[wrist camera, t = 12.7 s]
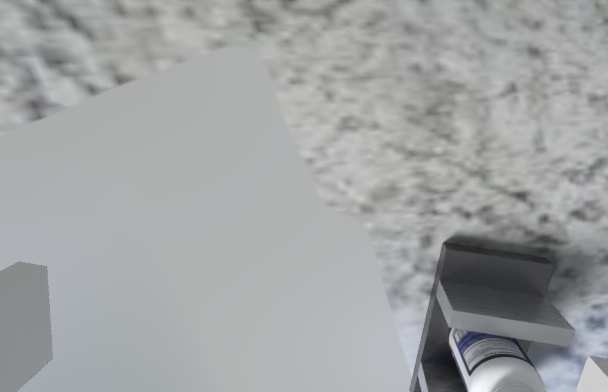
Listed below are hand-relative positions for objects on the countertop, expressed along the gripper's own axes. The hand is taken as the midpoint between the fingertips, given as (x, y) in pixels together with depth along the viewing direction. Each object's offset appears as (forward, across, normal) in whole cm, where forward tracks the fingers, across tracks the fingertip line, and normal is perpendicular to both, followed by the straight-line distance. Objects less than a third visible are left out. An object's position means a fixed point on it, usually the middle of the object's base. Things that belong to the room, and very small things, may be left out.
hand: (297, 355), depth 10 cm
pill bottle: (+25, +15, -14) cm, 33 cm away
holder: (+27, +15, -14) cm, 34 cm away
